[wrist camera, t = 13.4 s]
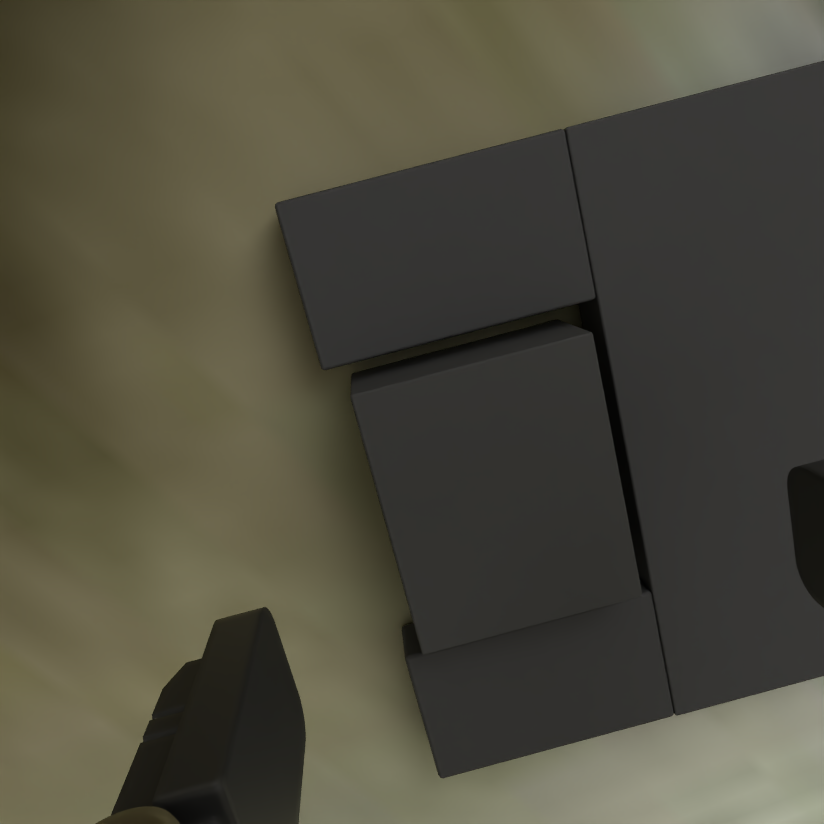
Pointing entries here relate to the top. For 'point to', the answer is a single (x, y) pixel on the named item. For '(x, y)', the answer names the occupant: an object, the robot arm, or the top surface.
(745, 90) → the notched block
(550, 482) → the pad
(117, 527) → the top surface
